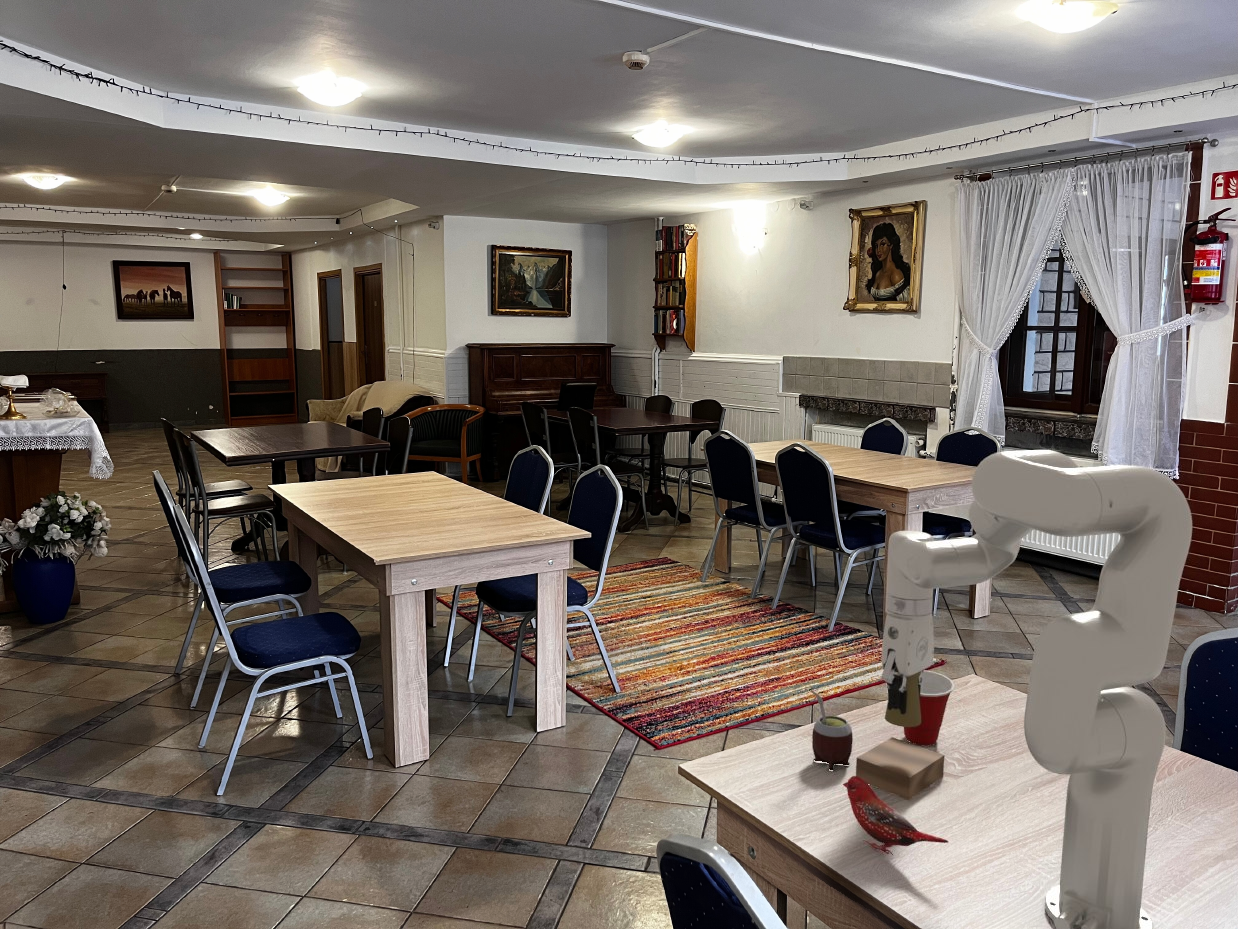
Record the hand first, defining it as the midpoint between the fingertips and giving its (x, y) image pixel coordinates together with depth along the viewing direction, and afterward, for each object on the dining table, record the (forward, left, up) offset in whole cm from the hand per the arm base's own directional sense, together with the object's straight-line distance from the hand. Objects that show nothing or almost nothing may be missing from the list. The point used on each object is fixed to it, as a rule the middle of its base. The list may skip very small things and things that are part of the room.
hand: (903, 707), depth 158 cm
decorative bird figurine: (-23, -11, -13) cm, 29 cm away
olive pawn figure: (0, 0, -2) cm, 2 cm away
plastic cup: (+17, +5, -13) cm, 22 cm away
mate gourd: (-4, +11, -13) cm, 18 cm away
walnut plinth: (0, 0, -13) cm, 13 cm away
